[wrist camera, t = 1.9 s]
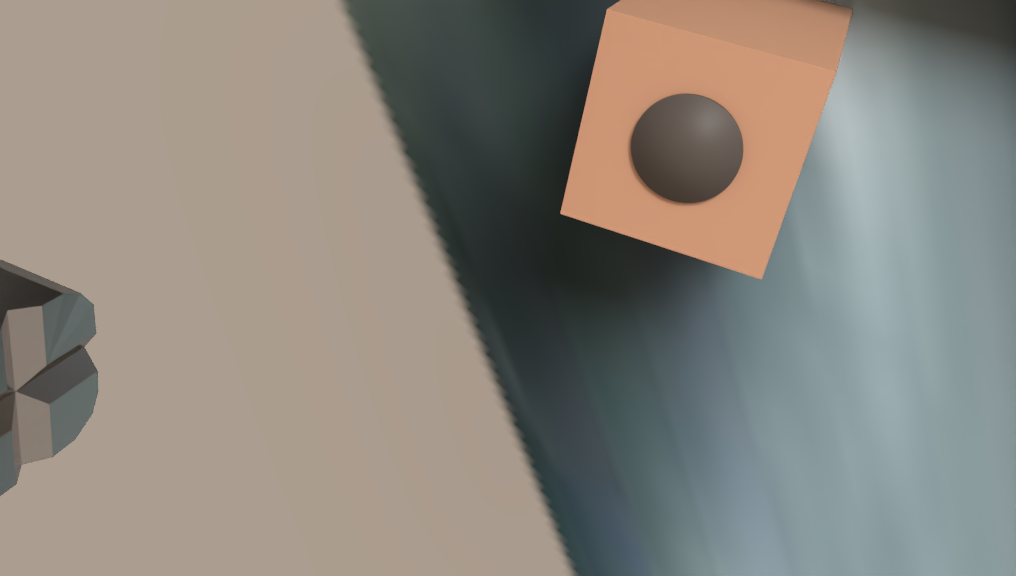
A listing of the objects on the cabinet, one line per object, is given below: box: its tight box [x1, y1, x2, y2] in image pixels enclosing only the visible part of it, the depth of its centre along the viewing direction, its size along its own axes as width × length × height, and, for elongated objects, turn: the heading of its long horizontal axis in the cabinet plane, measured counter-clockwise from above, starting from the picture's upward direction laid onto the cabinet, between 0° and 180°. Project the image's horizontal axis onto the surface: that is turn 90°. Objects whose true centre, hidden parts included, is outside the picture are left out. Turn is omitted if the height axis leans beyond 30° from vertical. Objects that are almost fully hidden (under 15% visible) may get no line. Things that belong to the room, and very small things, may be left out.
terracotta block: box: [560, 0, 853, 279], centre depth 20 cm, size 4×4×6 cm
